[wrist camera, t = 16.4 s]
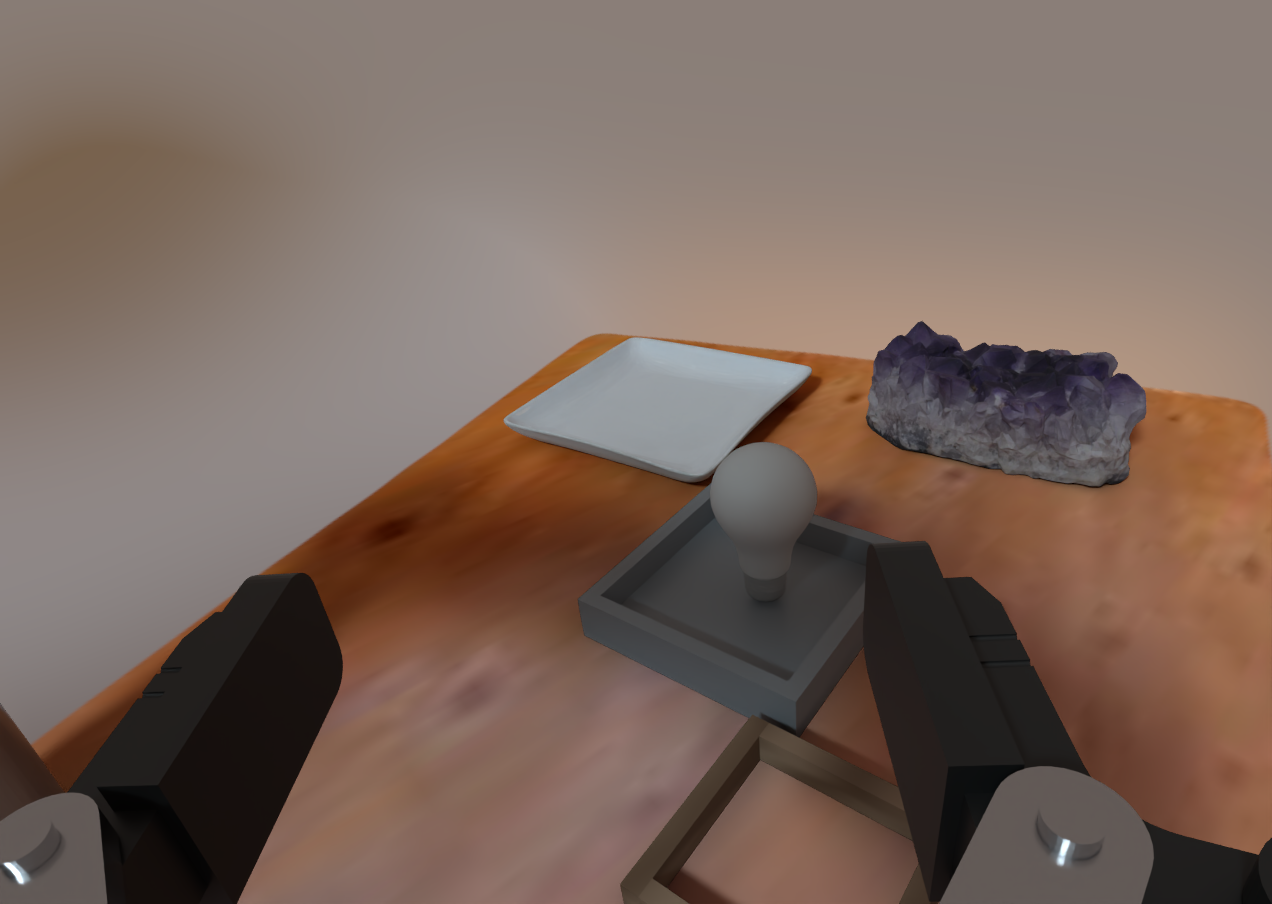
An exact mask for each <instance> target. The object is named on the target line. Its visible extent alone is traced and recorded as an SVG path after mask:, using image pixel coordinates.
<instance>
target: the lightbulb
mask: <svg viewBox="0 0 1272 904" xmlns="http://www.w3.org/2000/svg"><path fill="white" fill-rule="evenodd" d="M710 500H711V507H712V510H713V513H714V515H715V518H716V520H717V521H718V523H719V524H720V526H721V527H722V528H723V530H724V531H725V532H726V534H727V535H728V536H729V537H730V538H731V539H732V541H733V543H734V545H735V546H736V549H737V553H738V557H739V564H740V567H741V569H742V570H743V573H744V581H745V587H746V591H747V593H748V594H749V595H750V596H751V597H752V598H754V599H756V600H758V601H764V602H768V601H774V600H776V599H778V598H780V597H781V596H782V595H783V594H784V592H785V590H786V582H787V580H786V579H787V571H788V569H789V567H790V564H791V554H792V550H793V546H794V544H795V542H796V540H797V539H798V538H799V536H800V535H801V534H802V532H803V531H804V530H805V528H806V527H807V525H808V524H809V522H810V521H811V519H812V517H813V514H814V511H815V508H816V505H817V488H816V483H815V480H814V476H813V474H812V472H811V470H810V468H809V467H808V465H807V464H806V463H805V462H804V460H803V459H802V458H801V457H800V456H799V455H797V454H796V453H795V452H794V451H792V450H790V449H789V448H787V447H784V446H782V445H778V444H774V443H768V442H758V443H752V444H748V445H745V446H742V447H740V448H738V449H736V450H734V451H733V452H731V453H730V454H729V455H728V456H727V457H726V458H725V459H724V460H723V461H722V462H721V464H720V465H719V466H718V468H717V470H716V471H715V474H714V476H713V479H712V483H711V489H710Z"/></svg>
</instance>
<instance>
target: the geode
mask: <svg viewBox="0 0 1272 904" xmlns="http://www.w3.org/2000/svg"><path fill="white" fill-rule="evenodd" d="M1117 365H1118V362H1117V361H1116V359H1115V357H1114V356H1112V355H1111V354H1110V353H1107V352H1100V353H1084V354H1081V355H1072V354H1071V353H1070V352H1069V351H1067V350H1055V349H1049V350H1047V351H1044V352H1041V351H1038V350H1032V351H1028V352H1024V351H1023V350H1022V349H1021V348H1019V347H1018V346H1009V345H994V344H992V345H991V346H989V345H987V344H986V343H982V344H980V345H978V346H976V347H974V348H972V349H971V350H968V351H963V349H962V348H961V346H960V343H959V342H958V341H957V339H955V338H953V337H952V336H949V335H938V334H937V333H935V332H934V331H933V330H932V329H930V327H928V326H927V325H926V324H925V323H924V322H922V321H921V322H918V323H917V324H916V325H915V326H914V327H913V328H912V329H911V331H910V332H909V333H908V334H907V335H906V336H903V335H899V336H897V337H896V338H894V339H893V340H892V341H891V342H890V343H889V344H888V346H887V347H886V348H885V349H884V350H881V351H879V352H878V354H877V357H876V359H875V361H874V372H873V376H872V386H871V388H870V393H869V395H868V400H869V408H868V412H867V416H866V420H867V423H868V425H869V427H870V428H871V429H872V430H873V431H875V432H876V433H877V434H879V435H880V436H881V437H883V438H884V439H886V440H887V441H889V442H890V443H891V444H893V445H894V446H896V447H898V448H900V449H905V450H912V451H917V452H923V453H928V454H933V455H936V456H940V457H946V458H952V459H955V460H959V461H963V462H967V463H970V464H974V465H978V466H982V467H985V468H989V469H1002V471H1003V472H1004V473H1005V474H1010V475H1016V474H1024V475H1028V476H1030V477H1032V478H1042V479H1046V480H1050V481H1056V482H1063V483H1077V484H1083V485H1088V486H1101V485H1103V484H1105V483H1108V484H1116V483H1120V482H1121V481H1123V480H1124V479H1125V478H1126V477H1127V476H1128V475H1129V469H1130V468H1129V466H1128V460H1129V451H1130V449H1131V443H1130V440H1129V437H1130V434H1131V432H1132V429H1133V427H1134V426H1135V425H1136V424H1137V423H1138V422H1140V421H1141V420H1142V419H1144V418H1145V415H1146V395H1145V391H1144V390H1143V388H1142V387H1141V386H1140V385H1139V384H1137V383H1136V382H1135V381H1134V380H1133V379H1132V378H1131V377H1130V376H1129V375H1127V374H1120V373H1118V374H1116V375H1115V376H1113V372H1114V371H1115V369H1116V367H1117ZM1112 376H1113V377H1112Z"/></svg>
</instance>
